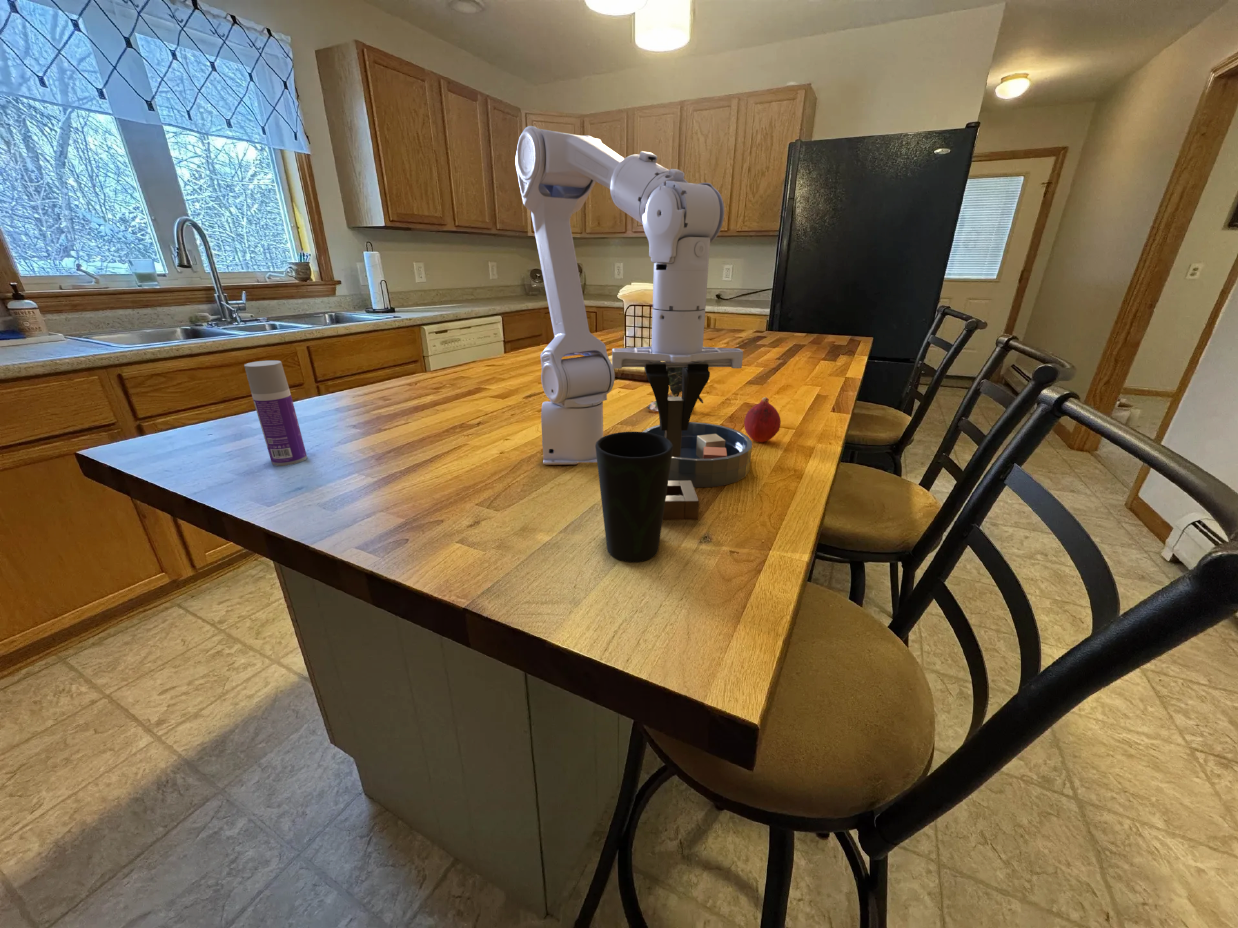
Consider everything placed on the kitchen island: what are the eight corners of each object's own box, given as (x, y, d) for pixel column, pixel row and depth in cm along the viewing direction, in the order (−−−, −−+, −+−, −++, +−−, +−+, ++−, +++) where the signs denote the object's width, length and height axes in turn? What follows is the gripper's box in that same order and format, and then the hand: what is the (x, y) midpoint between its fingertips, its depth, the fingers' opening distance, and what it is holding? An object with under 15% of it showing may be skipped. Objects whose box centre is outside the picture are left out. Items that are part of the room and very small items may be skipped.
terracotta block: (702, 475, 69) (703, 454, 68) (702, 466, 72) (703, 446, 71) (725, 476, 69) (727, 455, 68) (724, 468, 72) (726, 447, 71)
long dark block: (665, 457, 59) (667, 400, 56) (663, 451, 61) (666, 396, 58) (680, 457, 59) (683, 400, 56) (678, 451, 61) (681, 396, 58)
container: (314, 457, 77) (289, 361, 71) (284, 468, 73) (256, 367, 68) (294, 452, 79) (269, 359, 73) (264, 463, 75) (235, 364, 69)
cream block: (704, 462, 74) (706, 442, 73) (695, 454, 77) (696, 435, 76) (723, 460, 75) (725, 440, 74) (714, 452, 78) (715, 433, 76)
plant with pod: (691, 419, 95) (698, 312, 88) (640, 411, 101) (642, 309, 93) (707, 409, 102) (715, 309, 94) (659, 401, 107) (662, 306, 100)
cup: (646, 576, 48) (649, 464, 44) (583, 553, 52) (579, 448, 47) (680, 541, 54) (686, 439, 50) (621, 523, 58) (621, 426, 53)
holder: (648, 524, 58) (649, 501, 57) (645, 501, 63) (645, 480, 62) (697, 523, 58) (699, 501, 57) (689, 501, 63) (691, 480, 62)
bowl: (641, 491, 66) (641, 460, 64) (635, 448, 81) (635, 422, 79) (762, 490, 66) (766, 460, 65) (734, 447, 81) (736, 421, 80)
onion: (779, 451, 80) (785, 403, 77) (742, 448, 81) (747, 401, 78) (775, 439, 85) (781, 394, 82) (741, 436, 86) (746, 392, 83)
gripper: (612, 312, 50) (612, 439, 55) (755, 312, 50) (742, 438, 55) (611, 306, 56) (612, 420, 61) (738, 306, 56) (728, 419, 62)
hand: (673, 427), depth 59 cm, fingers closed on long dark block, 2 cm apart
